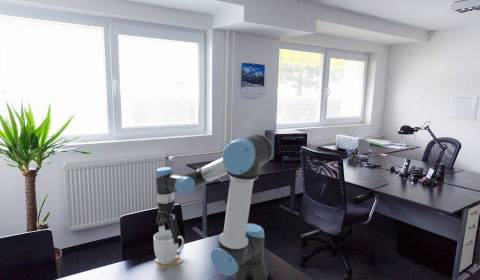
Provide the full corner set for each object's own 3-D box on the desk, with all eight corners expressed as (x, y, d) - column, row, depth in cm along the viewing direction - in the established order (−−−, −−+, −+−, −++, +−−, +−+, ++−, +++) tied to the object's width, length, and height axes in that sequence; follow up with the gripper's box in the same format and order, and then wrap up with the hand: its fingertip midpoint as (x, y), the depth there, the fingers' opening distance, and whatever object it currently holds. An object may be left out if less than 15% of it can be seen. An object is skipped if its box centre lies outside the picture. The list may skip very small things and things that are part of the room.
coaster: (183, 262, 142) (183, 260, 142) (163, 270, 136) (163, 268, 136) (173, 253, 150) (173, 251, 150) (154, 260, 144) (154, 259, 144)
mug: (178, 249, 152) (178, 225, 150) (189, 258, 144) (189, 233, 142) (150, 259, 143) (149, 234, 141) (160, 270, 135) (159, 243, 132)
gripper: (186, 206, 130) (189, 251, 134) (162, 192, 150) (164, 232, 153) (170, 211, 126) (173, 257, 129) (147, 195, 145) (150, 236, 148)
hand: (168, 243), depth 141 cm, fingers open, 13 cm apart
